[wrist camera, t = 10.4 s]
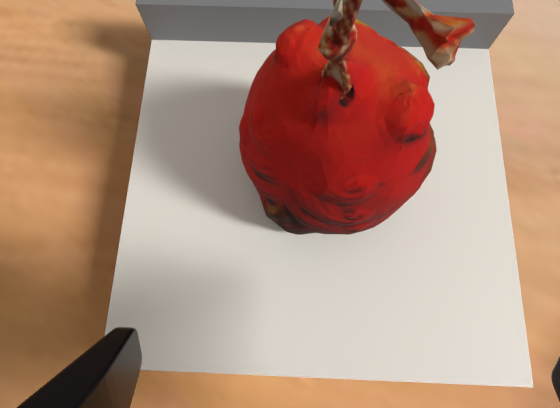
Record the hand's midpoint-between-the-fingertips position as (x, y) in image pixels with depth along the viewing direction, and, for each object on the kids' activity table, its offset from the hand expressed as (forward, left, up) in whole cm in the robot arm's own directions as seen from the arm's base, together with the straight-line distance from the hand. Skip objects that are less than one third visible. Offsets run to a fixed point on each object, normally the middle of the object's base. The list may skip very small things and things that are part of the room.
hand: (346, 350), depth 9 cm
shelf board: (+6, +4, -12) cm, 14 cm away
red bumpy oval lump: (+6, +4, -9) cm, 12 cm away
